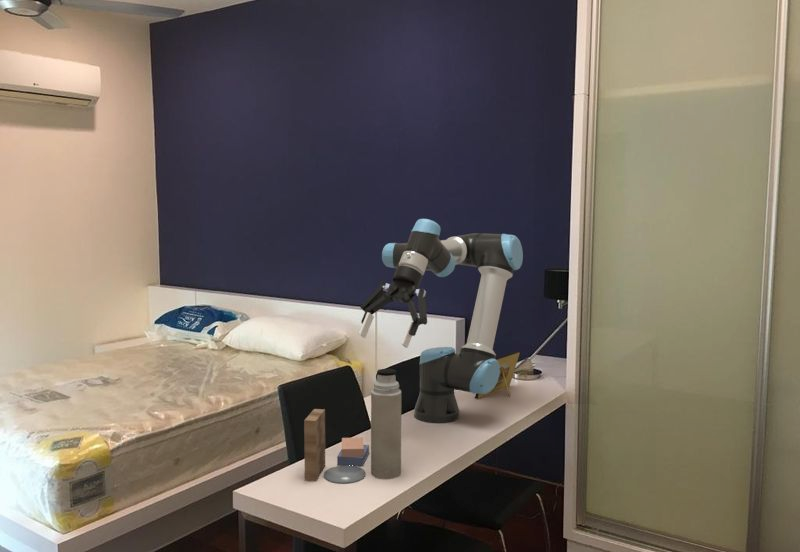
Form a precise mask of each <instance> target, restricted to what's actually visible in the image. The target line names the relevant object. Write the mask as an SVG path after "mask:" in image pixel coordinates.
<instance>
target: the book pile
mask: <svg viewBox="0 0 800 552" xmlns="http://www.w3.org/2000/svg"><path fill="white" fill-rule="evenodd" d="M369 454H370V445H369V444H364V437H342V438H341V449H340V451H339V453H338V454H337V456H336V458H337V460H336V461H337V462H336V463H337V464H336V466H343V465H350V466H352V465H353V466H356V467H361V466H364V465H363V464H365V462H366V460H367V458H368V456H369Z"/></svg>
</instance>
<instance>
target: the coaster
mask: <svg viewBox="0 0 800 552" xmlns="http://www.w3.org/2000/svg"><path fill="white" fill-rule="evenodd" d="M366 474H367V473H366V470H365V469H363V468H362V467H361V466H349V465H335V466H333V467H329V468H328V469H326V470H325V471H324V472H323V477H324V479H325V480H326V481H328V482H330V483H335V484H338V485H339V484H343V485H344V484H345V485H346V484H354V483H357V482H361V481H362V480H364V479H365V478H366ZM364 477H365V478H364Z"/></svg>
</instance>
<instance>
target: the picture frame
mask: <svg viewBox="0 0 800 552" xmlns="http://www.w3.org/2000/svg"><path fill="white" fill-rule="evenodd" d="M520 353H521V351H518V350H517V351H514V352H511V353H507V354H504V355H501V356H499V357H496V358H495V359H496V360H497V361H498V362H499V365H500V368H499V369H500V374H499V378H498V381H497V383H496V385H495V387H494V388H493V389H492V390H491V391H490V392H489V393H487V394H478V393H477V394H475V395H474V399H476V400H479V399H480V400H481V399H482V398H485V397H487V396H490V395H492V394H495V393H497V392H499V391H501V390H502V391H503V390H505V389H506V392H507V394H508V396H509V398H510V397H511V393H510V389H509V388H510V386H511V382H512V380H513V377H514V374H515V370H516V367H517V363H518V360H519V357H520Z"/></svg>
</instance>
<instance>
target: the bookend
mask: <svg viewBox="0 0 800 552" xmlns="http://www.w3.org/2000/svg"><path fill="white" fill-rule="evenodd" d="M303 421H304V422H303V423H304V424H303V432H304V435H303V436H304V440H303V441H304V445H303V446H304V450H303V451H304V481H305V482H317V480H318V479H319V477H320V476H321V474H322V472H323V471H324V469H326V409H325V408H323V409H321V408H314V409H312V411H311V412H310V413H309V414H308V416H307V417H305V419H304V420H303Z"/></svg>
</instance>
